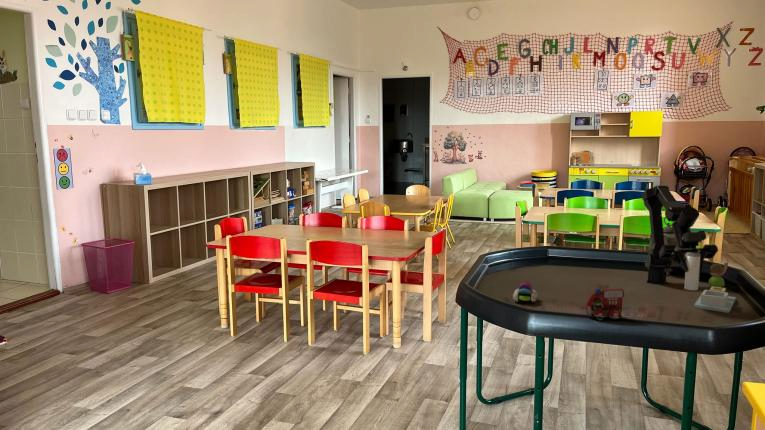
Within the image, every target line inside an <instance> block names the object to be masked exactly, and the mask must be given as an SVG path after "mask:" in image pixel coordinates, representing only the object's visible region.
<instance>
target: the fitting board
mask: <svg viewBox="0 0 765 430" xmlns="http://www.w3.org/2000/svg"><path fill="white" fill-rule="evenodd" d="M736 299H737V298H736V296H730V295H729V292H727V290H726V287H722V288H720V287H710V288H709V289H704V290H703V291H702V293H701V294H700V295H699V297H698V298H697V300H696V301H695V303H694V304H693V308H696V309H701V310H707V311H708V310H709V311H715V312H721V313H727V314H729V313H730V312H731V310H732V308H733V306H734V304H735V302H736Z"/></svg>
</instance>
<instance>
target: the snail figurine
mask: <svg viewBox="0 0 765 430" xmlns="http://www.w3.org/2000/svg"><path fill="white" fill-rule="evenodd" d="M726 261H727V262H724V263H723V265H724V266H723V265H722V264H720V263H713V264H712V265H711V266H710V270H709V271H710V273H709V274H710V275H711V277H710V278H709V279H708V285H709V287H710V288H711V287H720V288H724V286H725V280H724V278H723V277H722V276H723V275H725V274H726V272H727V269H728V266H729V263H728V262H729V259H726Z"/></svg>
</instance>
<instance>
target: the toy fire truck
mask: <svg viewBox="0 0 765 430" xmlns="http://www.w3.org/2000/svg"><path fill="white" fill-rule="evenodd" d="M624 297H625V291H624V289H622V288H603V289H601V288H596V289H595V290H594V292H593V293H591V294H590V296H589V298H588V300H587V301H586V303H585V313H586V314H587V315H589V314H593V315H599V316H607V314H608V317H609V316H611V317H620V318H621V317H622V312H623V299H624ZM593 315H592V316H593Z"/></svg>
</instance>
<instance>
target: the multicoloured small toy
mask: <svg viewBox="0 0 765 430" xmlns="http://www.w3.org/2000/svg"><path fill="white" fill-rule="evenodd" d="M518 298H519V300H520V301H524V302H525V301H526V302H527V301H530V302H531V301H536V302H537V299H536V298H538V292H537V290H535V289H533V287H532V284H530V282H528V281H523V282H521V283H520V285H519V286H518V288H517V289H515V290H514V293H513V294H512V300H513V299H514V300H518ZM514 300H513V301H514ZM519 300H518V301H519Z"/></svg>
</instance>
